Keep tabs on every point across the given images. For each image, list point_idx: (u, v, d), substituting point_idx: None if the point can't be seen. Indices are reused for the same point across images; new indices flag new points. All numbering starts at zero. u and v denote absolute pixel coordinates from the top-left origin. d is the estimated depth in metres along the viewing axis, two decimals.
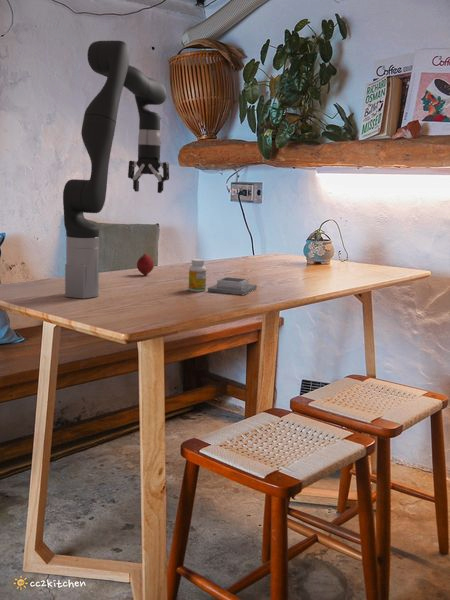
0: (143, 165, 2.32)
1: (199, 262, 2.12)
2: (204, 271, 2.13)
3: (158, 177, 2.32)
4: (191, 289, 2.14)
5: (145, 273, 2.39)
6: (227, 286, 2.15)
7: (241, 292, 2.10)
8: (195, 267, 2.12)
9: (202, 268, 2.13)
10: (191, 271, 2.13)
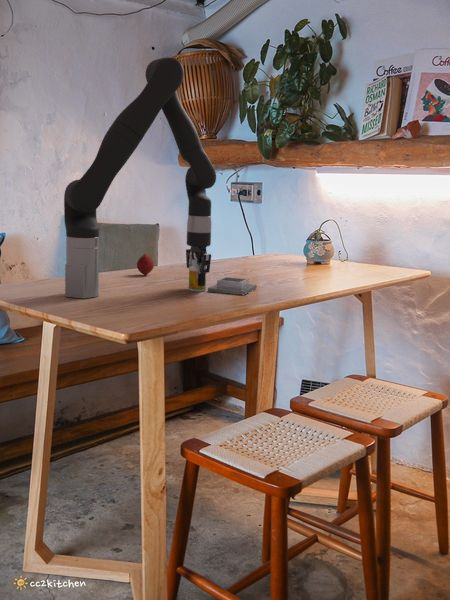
0: None
1: None
2: None
3: None
4: (191, 289, 2.14)
5: (145, 273, 2.39)
6: (227, 286, 2.15)
7: (241, 292, 2.10)
8: (195, 267, 2.12)
9: None
10: (191, 271, 2.13)
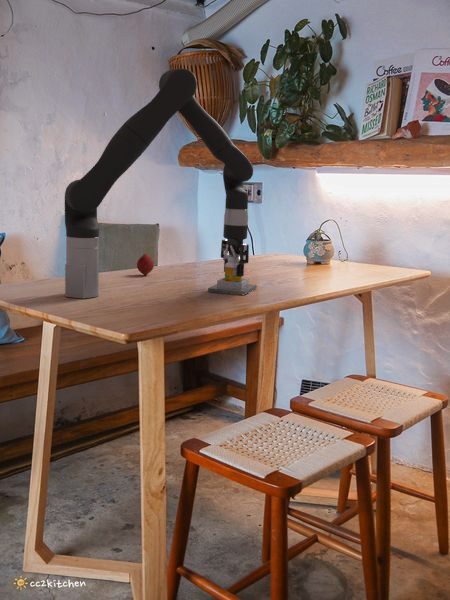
0: None
1: None
2: None
3: None
4: None
5: (145, 273, 2.39)
6: (227, 286, 2.15)
7: (241, 292, 2.10)
8: (231, 263, 2.15)
9: None
10: (227, 267, 2.15)
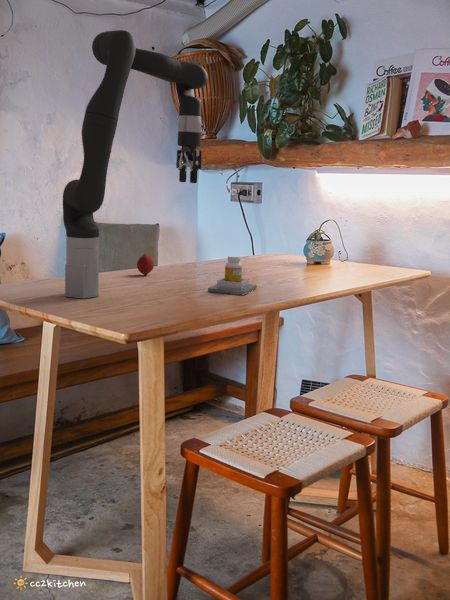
0: None
1: (235, 259, 2.15)
2: (240, 267, 2.16)
3: None
4: None
5: (145, 273, 2.39)
6: (227, 286, 2.15)
7: (241, 292, 2.10)
8: (231, 263, 2.15)
9: (238, 264, 2.15)
10: (227, 267, 2.15)
